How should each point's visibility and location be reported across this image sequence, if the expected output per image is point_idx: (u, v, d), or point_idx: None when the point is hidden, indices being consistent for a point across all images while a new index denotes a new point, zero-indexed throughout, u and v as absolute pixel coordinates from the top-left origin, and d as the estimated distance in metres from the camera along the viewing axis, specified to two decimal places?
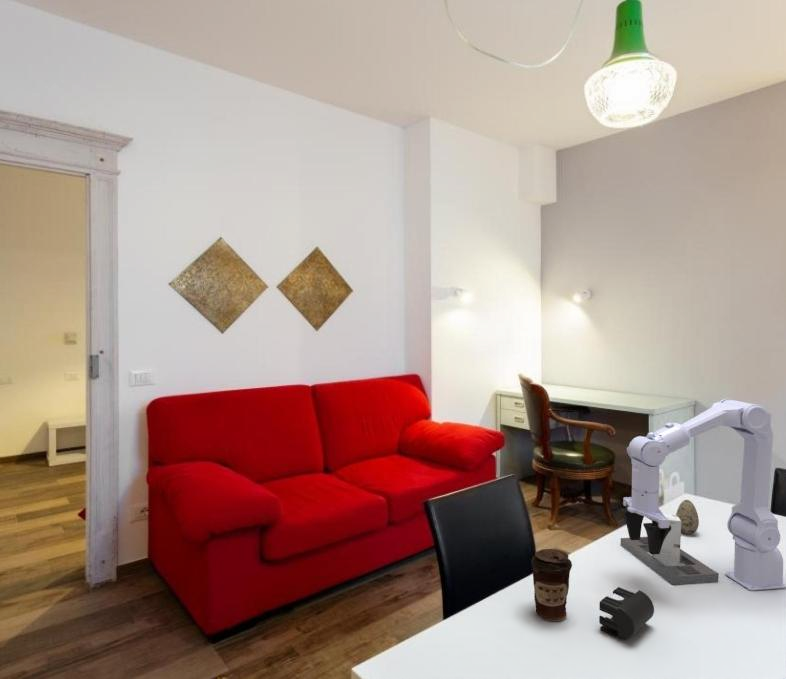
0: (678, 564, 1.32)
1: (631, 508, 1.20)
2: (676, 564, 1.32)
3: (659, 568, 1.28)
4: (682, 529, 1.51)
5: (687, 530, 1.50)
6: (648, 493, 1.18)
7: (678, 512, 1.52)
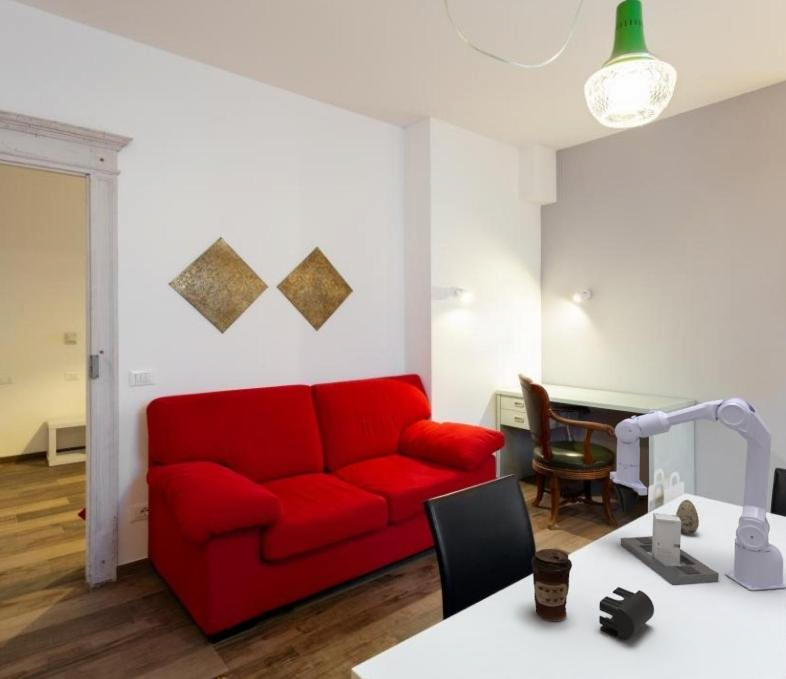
0: (678, 564, 1.32)
1: (616, 479, 1.41)
2: (676, 564, 1.32)
3: (659, 568, 1.28)
4: (682, 529, 1.51)
5: (687, 530, 1.50)
6: (630, 466, 1.38)
7: (678, 512, 1.52)
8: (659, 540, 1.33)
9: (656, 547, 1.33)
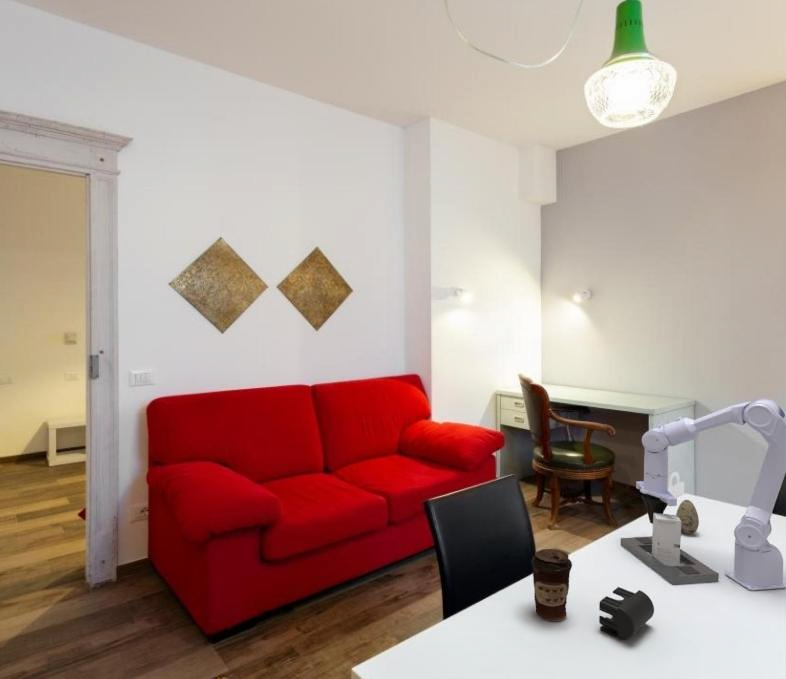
0: (678, 564, 1.32)
1: (643, 490, 1.38)
2: (676, 564, 1.32)
3: (659, 568, 1.28)
4: (682, 529, 1.51)
5: (687, 530, 1.50)
6: (658, 476, 1.36)
7: (678, 512, 1.52)
8: (659, 540, 1.33)
9: (656, 547, 1.33)
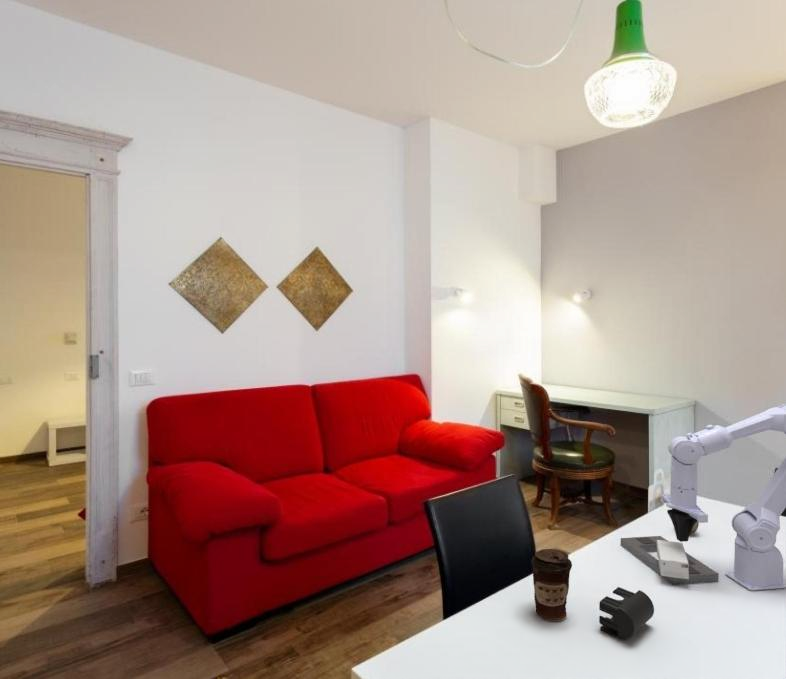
0: None
1: (670, 504, 1.27)
2: None
3: (659, 568, 1.28)
4: None
5: None
6: (687, 490, 1.25)
7: None
8: None
9: None
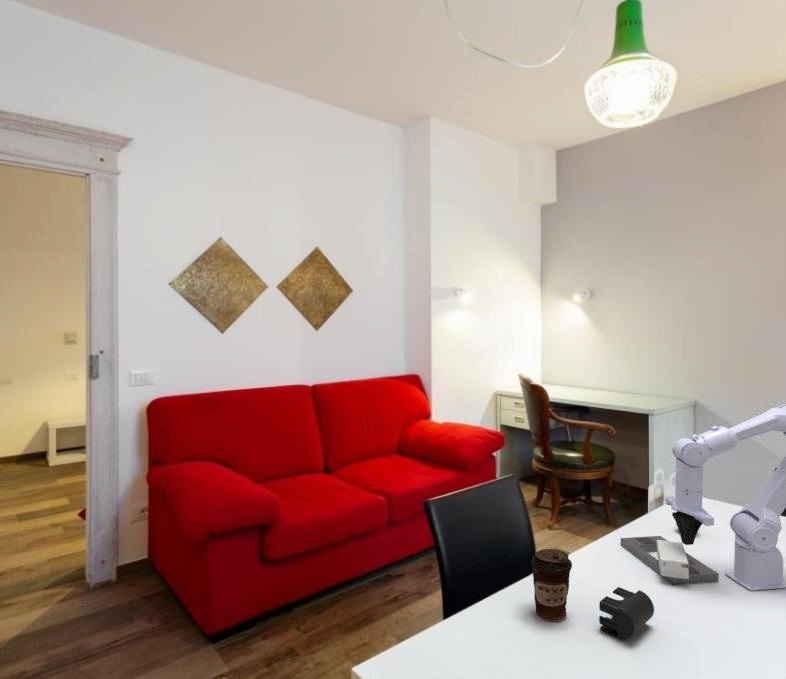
0: None
1: (675, 507, 1.26)
2: None
3: (659, 568, 1.28)
4: None
5: None
6: (692, 492, 1.23)
7: None
8: None
9: None
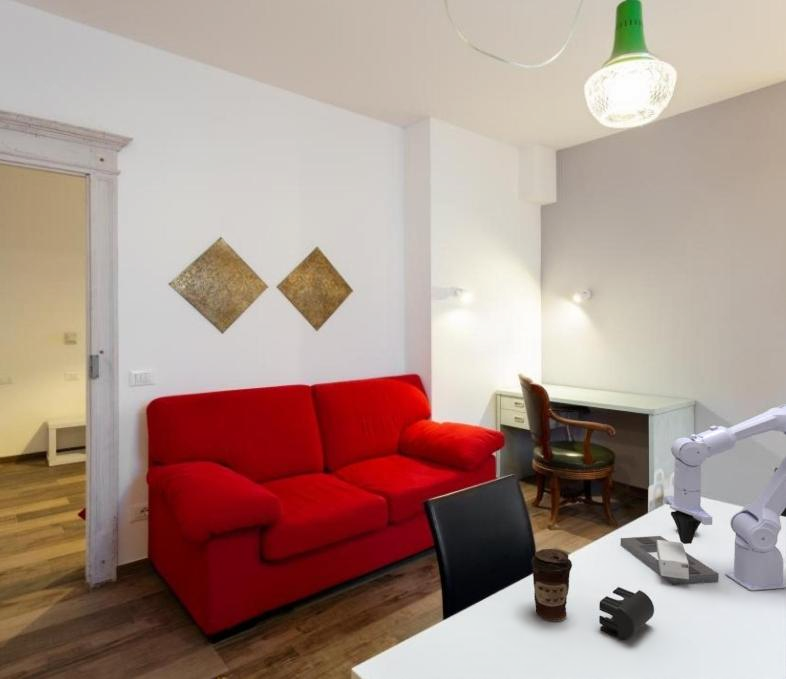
0: None
1: (674, 506, 1.26)
2: None
3: (659, 568, 1.28)
4: None
5: None
6: (691, 492, 1.24)
7: None
8: None
9: None
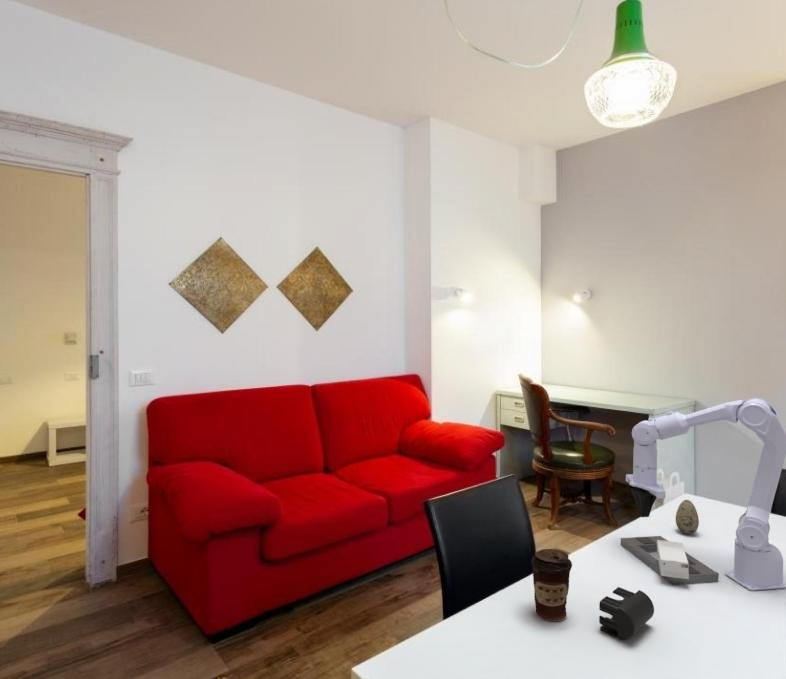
0: None
1: (632, 482, 1.38)
2: None
3: (659, 568, 1.28)
4: (682, 529, 1.51)
5: (687, 530, 1.50)
6: (647, 469, 1.35)
7: (678, 512, 1.52)
8: None
9: None
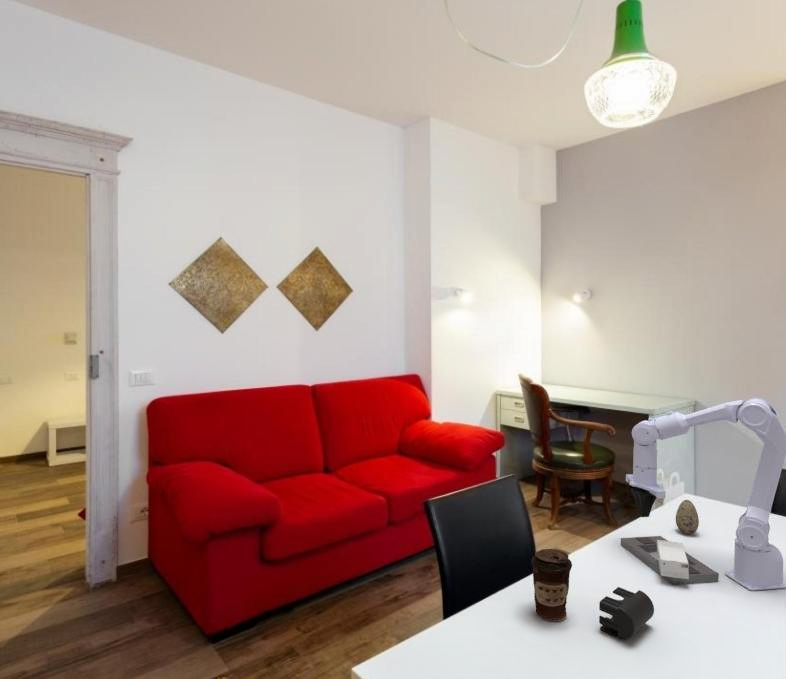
0: None
1: (632, 482, 1.38)
2: None
3: (659, 568, 1.28)
4: (682, 529, 1.51)
5: (687, 530, 1.50)
6: (647, 469, 1.35)
7: (678, 512, 1.52)
8: None
9: None
